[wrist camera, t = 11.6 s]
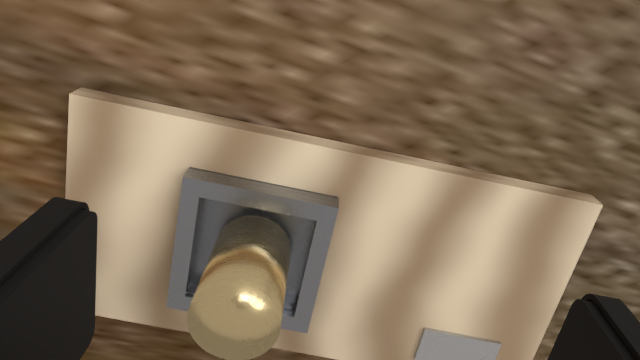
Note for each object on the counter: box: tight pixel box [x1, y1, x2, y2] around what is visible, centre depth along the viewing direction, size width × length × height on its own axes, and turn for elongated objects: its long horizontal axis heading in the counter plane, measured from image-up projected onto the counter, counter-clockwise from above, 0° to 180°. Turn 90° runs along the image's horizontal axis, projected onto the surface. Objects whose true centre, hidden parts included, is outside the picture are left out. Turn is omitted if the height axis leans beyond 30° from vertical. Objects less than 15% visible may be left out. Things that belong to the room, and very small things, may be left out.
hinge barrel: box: [187, 215, 291, 360], centre depth 28 cm, size 4×4×7 cm
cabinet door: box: [65, 88, 603, 360], centre depth 32 cm, size 30×14×3 cm, turn 78°
